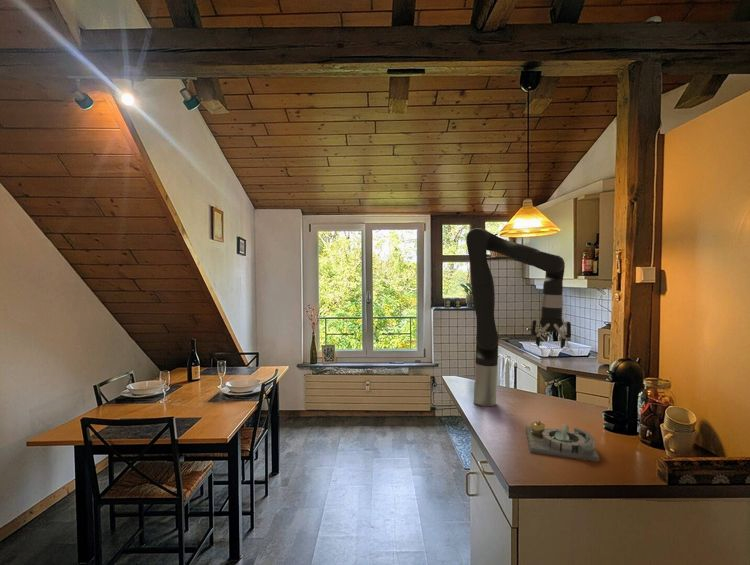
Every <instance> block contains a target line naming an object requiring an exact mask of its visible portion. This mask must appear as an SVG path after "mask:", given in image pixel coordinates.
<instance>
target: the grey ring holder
mask: <svg viewBox="0 0 750 565" xmlns="http://www.w3.org/2000/svg"><path fill="white" fill-rule="evenodd" d="M545 426H546V425H545V423H543V422H541V421H540V420H535V421H532V422H531V424H530V426H527V425H526V426H525V434H526V439H527V443H529V444H528V448H529V453H533V454H540V455H546V456H553V457H560V458H561V457H562V458H567V457H568V459H574V458H577V459H576V460H581V459H585V460H584V461H588V460H590V461H589V462H596V463H597V462H598V463H600V456H599V454H598V452H597V450H596V448H595V446H596V445H595V444H596V443H595V442H596V440H595V437H594V436H593V435H591V433H590V432H588V431H586V430H584V429H581V428H580V427H579V428H578V427H574V429H573V431H572V430H569V431H568V432H567V435H568V436H569V440H572V441H573V442H562V441H559V440H557V439H556V438H555V439H554V438H552V436H555V433H556V432H558V431H562V428H558V427H557V428H555V427H552V428H545Z"/></svg>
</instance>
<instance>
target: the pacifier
mask: <svg viewBox="0 0 750 565" xmlns="http://www.w3.org/2000/svg"><path fill="white" fill-rule="evenodd" d="M561 429H562V431H558V432H556V433H555V436H552V438H554V439H555V438H556V439H557V440H559V441H562V442H573V441H572V440H569V436H568V435H567V432H568V431H570V427H569V424H567V423H564V424H563V426H562V427H561Z"/></svg>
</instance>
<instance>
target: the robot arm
mask: <svg viewBox="0 0 750 565" xmlns="http://www.w3.org/2000/svg"><path fill="white" fill-rule="evenodd" d="M465 241H466V249H467V253H468V257H469V263H470V264H469V265H470V266H469V267H470V268H469V269H470V281H471V294H472V301H473V307H474V311H475V316H476V318H475V319H476V337H475V340H476V342H475V344H476V346H475V347H476V348H475V366H474V368H475V369H474V384H473V386H474V387H473V388H474V389H473V404H475V405H478V406H482V407H495V406H496V405H497V387H498V386H497V384H498V383H497V382H498V364H499V362H498V360H499V338H500V336H499V332H498V331H497V325H496V320H495V304H496V297H495V296H496V295H495V294H496V293H495V283H494V278H493V274H492V271H491V269H490V266H489V262H488V253H487V252H489V251H490V252H493V253H498V254H499V255H503V256H505V257H507V258H509V259H511V260H514V261H516V262H518V263H522V264H524V265H527V266H531V267H535V268H537V269H539V270H542V271H544V272H545V276H544V277H545V279H544V281H543V284H542V285H543V286H542V298H541V310H540V312H541V313H540V319H538V320H537V319H532V323H531V331H530V333H531V335H532V336H535V344H536V345H537V347H540V345H541V344H540V343H541V337H540V336H541V335H542V334H543V333H544V332H548V333H550V332H552V333H557V332H558V334H559V335H560V336H561V337H560V346H559V348H560V349H564V347H566V340H567V338H571V337H572V331H571V330H572V324H571V322H570V321H563V306H564V304H563V303H564V301H563V286H564V283H563V281H564V277H565V276H564V275H565V268H566V265H565V260H564V259H563V257H561V256H560V255H558V254H557V255H556V254H552V253H548V252H545V251H543V250H542V251H541V250H539V249H537V248H534V247H533V246H532V247H531V246H528V245H526V244H522V243H518V242H516V241H511V240H507V239H504V238H502V237H500V236H498V235H495V234H493V233H492V232H490V231H488V230H487V229H484V228H478V227H477V228H472V229H471V230H469V231H468V233H467V235H466V239H465ZM539 324H540V326H541V327H540V328H539V329H538V331H536V327H537V326H538V325H539ZM563 326H564V328H566V330H565V331H566V334H564V332H563V331H562V330H561V328H562V327H563Z"/></svg>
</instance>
